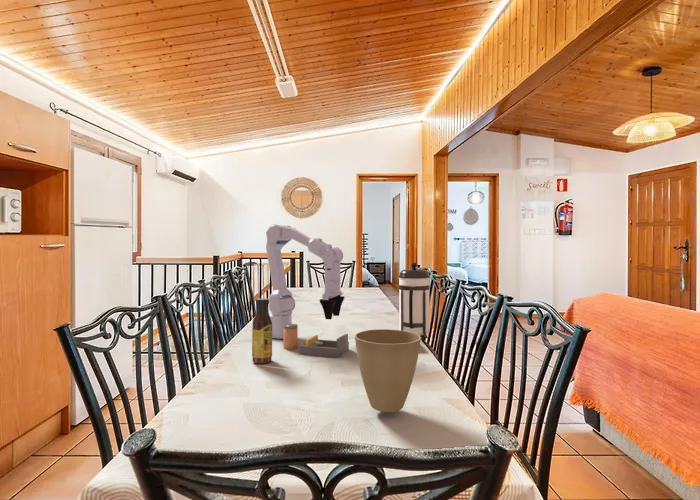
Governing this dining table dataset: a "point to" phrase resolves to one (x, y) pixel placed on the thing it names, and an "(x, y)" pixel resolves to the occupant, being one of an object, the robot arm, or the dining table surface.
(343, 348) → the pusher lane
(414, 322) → the coffee press
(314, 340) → the tan pusher block
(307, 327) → the dining table surface
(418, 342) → the plant pot
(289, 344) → the jar
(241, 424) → the dining table surface
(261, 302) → the sauce bottle
